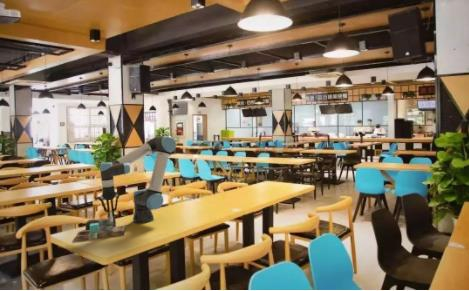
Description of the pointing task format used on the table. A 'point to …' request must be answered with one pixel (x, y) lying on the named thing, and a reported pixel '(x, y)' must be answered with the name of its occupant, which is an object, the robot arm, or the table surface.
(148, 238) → the table surface
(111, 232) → the brown piece
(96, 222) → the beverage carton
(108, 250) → the table surface
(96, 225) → the teal block
